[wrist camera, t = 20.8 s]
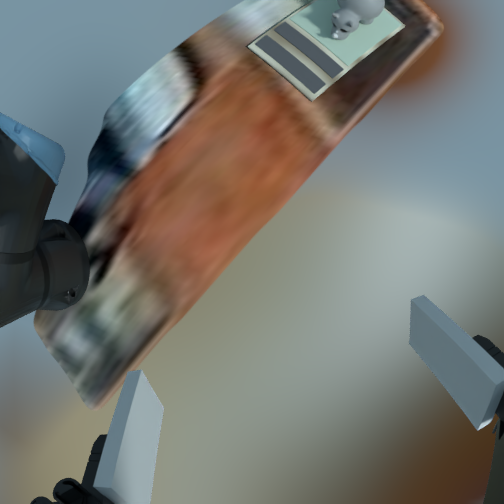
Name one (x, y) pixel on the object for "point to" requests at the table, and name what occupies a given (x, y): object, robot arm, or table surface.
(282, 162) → the table surface
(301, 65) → the dark gray parallel strips
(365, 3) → the chubby cartoon animal
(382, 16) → the pad
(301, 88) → the board
